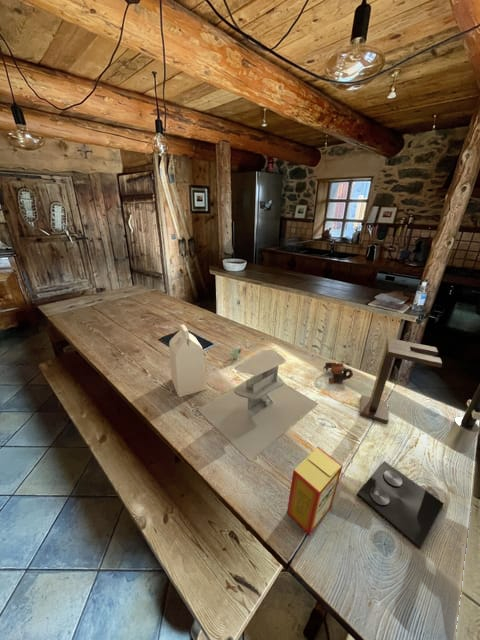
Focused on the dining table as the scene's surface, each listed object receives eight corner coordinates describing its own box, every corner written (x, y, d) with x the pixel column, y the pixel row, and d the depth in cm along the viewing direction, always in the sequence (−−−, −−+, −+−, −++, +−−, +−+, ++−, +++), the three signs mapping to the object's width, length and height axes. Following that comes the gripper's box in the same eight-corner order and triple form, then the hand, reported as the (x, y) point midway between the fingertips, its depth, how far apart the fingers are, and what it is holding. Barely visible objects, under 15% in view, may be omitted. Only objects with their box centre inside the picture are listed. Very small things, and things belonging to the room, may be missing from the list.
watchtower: (250, 461, 78) (252, 411, 69) (196, 409, 96) (193, 364, 88) (318, 403, 100) (326, 360, 91) (264, 370, 118) (266, 331, 110)
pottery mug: (321, 382, 112) (321, 362, 112) (326, 380, 120) (326, 361, 121) (352, 385, 106) (351, 364, 106) (355, 382, 114) (354, 363, 115)
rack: (411, 412, 97) (436, 347, 85) (414, 432, 88) (442, 363, 77) (360, 397, 103) (377, 335, 91) (359, 415, 95) (377, 349, 83)
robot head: (236, 353, 130) (236, 341, 127) (243, 355, 129) (244, 343, 126) (228, 361, 124) (228, 349, 121) (236, 363, 122) (236, 351, 119)
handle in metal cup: (464, 439, 76) (498, 374, 66) (471, 458, 70) (509, 391, 61) (442, 432, 78) (472, 368, 68) (447, 451, 72) (481, 384, 63)
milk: (207, 389, 106) (204, 331, 95) (178, 397, 102) (172, 338, 90) (197, 372, 116) (194, 318, 105) (171, 379, 111) (165, 323, 100)
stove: (442, 505, 67) (444, 502, 67) (419, 549, 59) (421, 546, 58) (383, 463, 78) (384, 460, 77) (356, 495, 69) (357, 492, 69)
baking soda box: (308, 535, 61) (319, 492, 54) (286, 512, 65) (293, 469, 59) (331, 506, 67) (342, 464, 60) (309, 487, 71) (318, 445, 64)
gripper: (558, 472, 57) (477, 447, 62) (516, 409, 73) (456, 394, 79) (575, 451, 54) (489, 428, 59) (527, 391, 71) (464, 377, 76)
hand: (470, 408), depth 69 cm, fingers closed on handle in metal cup, 2 cm apart
